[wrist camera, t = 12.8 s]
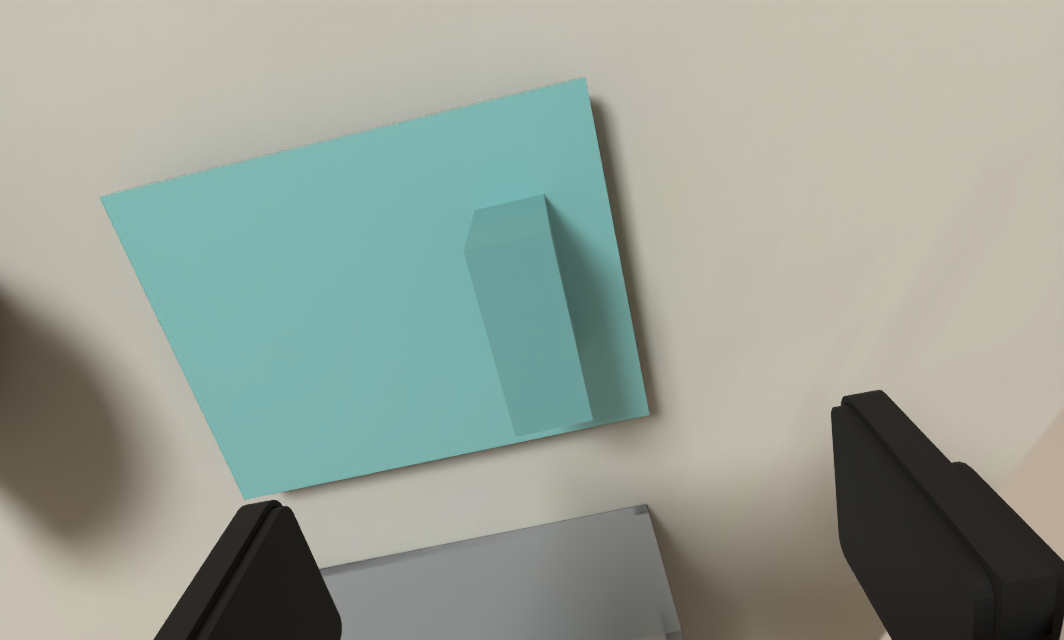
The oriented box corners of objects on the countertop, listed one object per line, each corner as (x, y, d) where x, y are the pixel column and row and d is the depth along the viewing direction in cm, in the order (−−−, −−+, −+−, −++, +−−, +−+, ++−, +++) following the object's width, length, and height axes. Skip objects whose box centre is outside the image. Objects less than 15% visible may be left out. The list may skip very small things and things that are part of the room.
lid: (580, 75, 23) (603, 84, 16) (641, 390, 28) (678, 494, 21) (131, 186, 24) (-12, 236, 18) (262, 470, 29) (187, 593, 22)
